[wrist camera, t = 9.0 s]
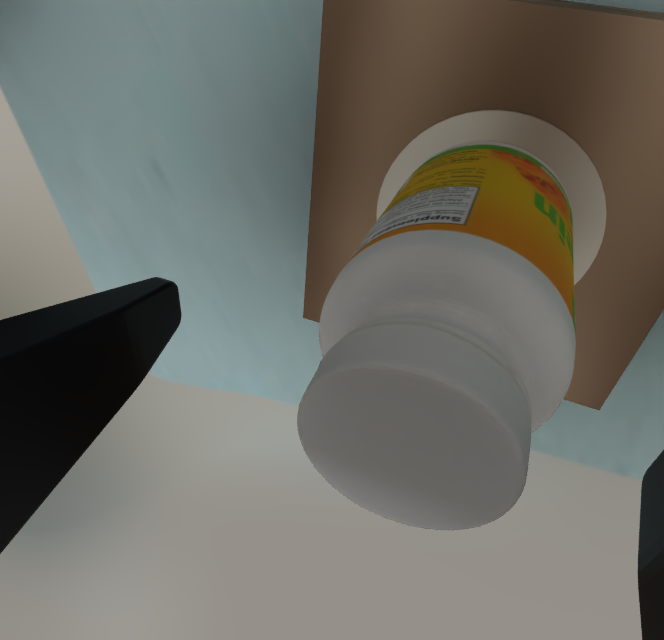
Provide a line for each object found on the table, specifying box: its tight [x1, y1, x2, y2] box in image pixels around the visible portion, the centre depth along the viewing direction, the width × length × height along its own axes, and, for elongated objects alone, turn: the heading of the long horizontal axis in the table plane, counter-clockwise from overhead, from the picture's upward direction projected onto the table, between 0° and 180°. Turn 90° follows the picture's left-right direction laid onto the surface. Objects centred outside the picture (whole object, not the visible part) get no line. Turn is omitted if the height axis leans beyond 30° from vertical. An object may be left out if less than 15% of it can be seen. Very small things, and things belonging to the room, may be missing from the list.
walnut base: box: [303, 0, 664, 410], centre depth 17 cm, size 12×12×3 cm
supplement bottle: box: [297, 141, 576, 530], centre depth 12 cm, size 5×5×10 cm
